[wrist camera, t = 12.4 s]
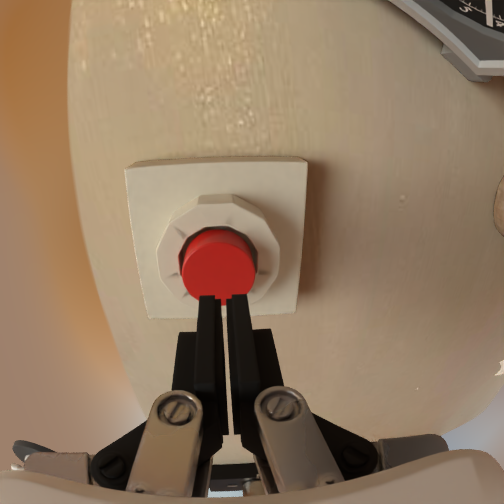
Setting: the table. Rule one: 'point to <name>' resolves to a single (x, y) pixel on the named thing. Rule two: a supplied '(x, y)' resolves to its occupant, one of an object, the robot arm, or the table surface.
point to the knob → (253, 488)
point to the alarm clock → (464, 33)
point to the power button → (218, 265)
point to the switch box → (218, 225)
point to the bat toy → (503, 368)
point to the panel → (232, 476)
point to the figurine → (499, 208)
